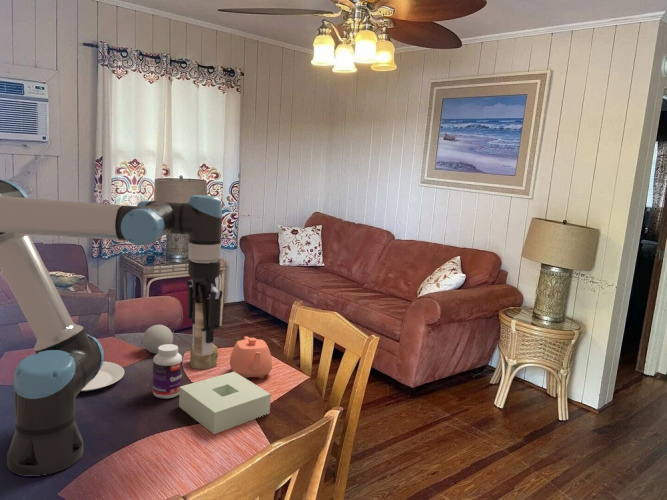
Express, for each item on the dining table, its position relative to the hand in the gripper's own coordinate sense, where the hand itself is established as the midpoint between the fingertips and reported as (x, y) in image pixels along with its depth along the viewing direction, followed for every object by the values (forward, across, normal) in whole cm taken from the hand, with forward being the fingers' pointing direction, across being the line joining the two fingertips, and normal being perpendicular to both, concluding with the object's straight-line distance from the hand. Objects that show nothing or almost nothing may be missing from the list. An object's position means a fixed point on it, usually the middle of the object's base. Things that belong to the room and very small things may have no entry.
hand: (202, 351), depth 128 cm
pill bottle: (+22, +24, -2) cm, 33 cm away
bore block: (+22, +7, -11) cm, 26 cm away
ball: (+22, +55, -13) cm, 60 cm away
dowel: (+4, 0, 0) cm, 4 cm away
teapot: (+23, +22, -30) cm, 44 cm away
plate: (+22, +45, +14) cm, 52 cm away
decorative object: (+22, +38, -22) cm, 49 cm away
